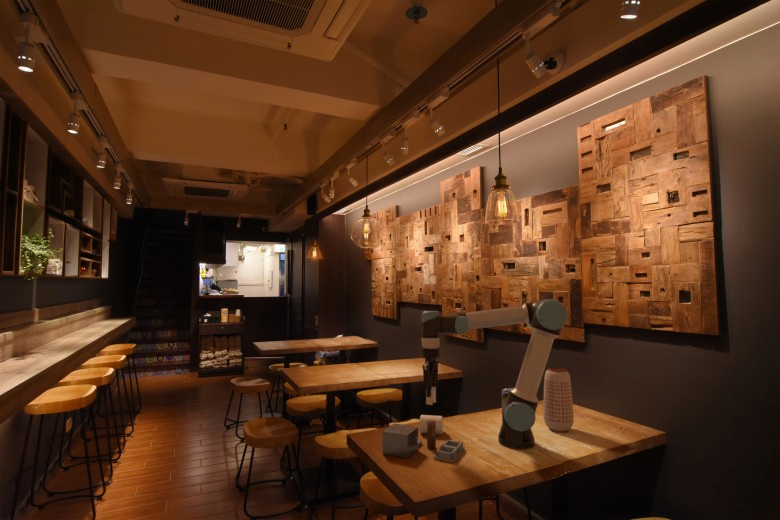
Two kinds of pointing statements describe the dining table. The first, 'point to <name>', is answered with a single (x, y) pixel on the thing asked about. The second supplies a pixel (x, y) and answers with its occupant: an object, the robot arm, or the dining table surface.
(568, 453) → the dining table surface
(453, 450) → the socket board
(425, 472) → the dining table surface
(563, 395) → the planter
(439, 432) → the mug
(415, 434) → the block
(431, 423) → the peg
